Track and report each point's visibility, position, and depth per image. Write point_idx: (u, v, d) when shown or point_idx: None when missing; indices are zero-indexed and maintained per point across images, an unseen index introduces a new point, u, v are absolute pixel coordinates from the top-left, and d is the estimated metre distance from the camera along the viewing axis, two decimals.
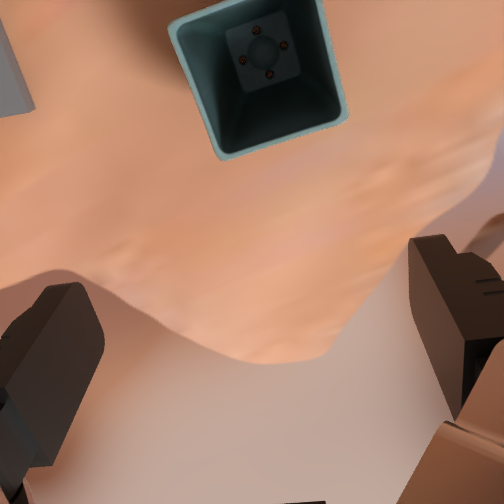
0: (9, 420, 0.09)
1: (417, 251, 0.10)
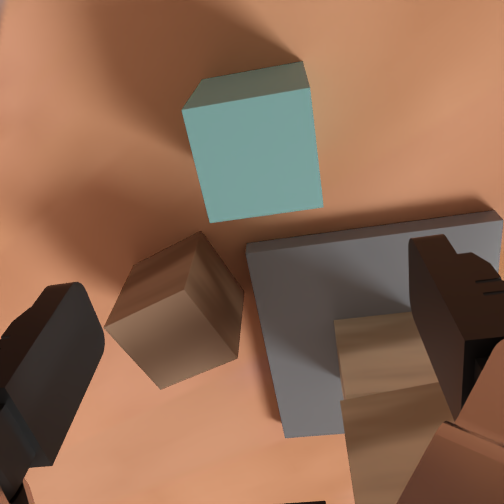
0: (9, 420, 0.09)
1: (417, 251, 0.10)
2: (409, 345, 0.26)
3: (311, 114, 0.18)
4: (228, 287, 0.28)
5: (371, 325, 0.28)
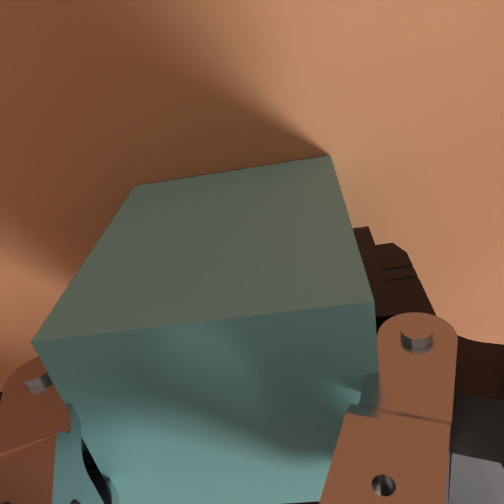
0: None
1: None
2: None
3: (374, 356, 0.07)
4: None
5: None
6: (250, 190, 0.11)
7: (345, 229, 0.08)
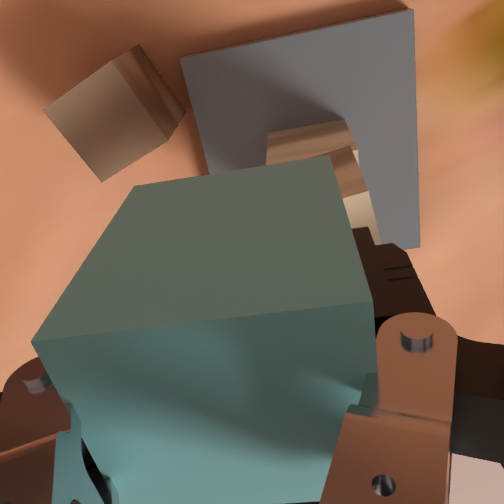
0: None
1: None
2: (330, 136, 0.28)
3: (373, 355, 0.07)
4: (166, 96, 0.30)
5: (300, 131, 0.30)
6: (249, 190, 0.11)
7: (344, 229, 0.08)
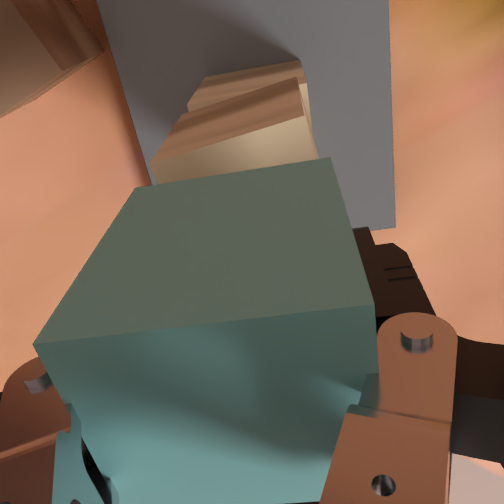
0: None
1: None
2: (278, 74, 0.22)
3: (374, 358, 0.07)
4: (73, 24, 0.24)
5: (244, 72, 0.24)
6: (250, 192, 0.11)
7: (345, 231, 0.08)
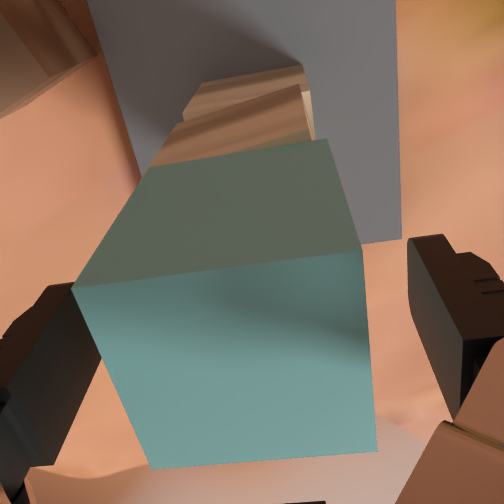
0: (11, 419, 0.09)
1: (416, 251, 0.10)
2: (279, 80, 0.21)
3: (362, 299, 0.08)
4: (63, 28, 0.22)
5: (243, 78, 0.23)
6: (255, 168, 0.12)
7: (339, 197, 0.09)
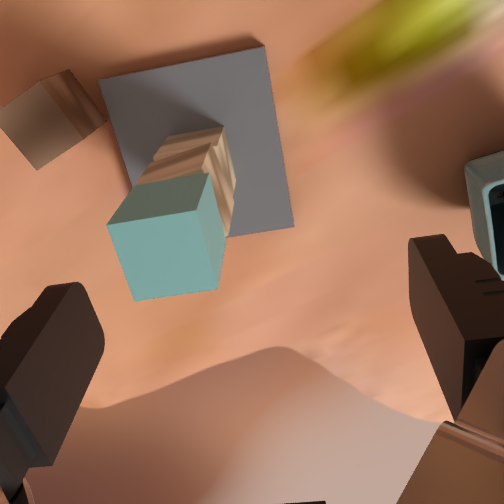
0: (9, 420, 0.09)
1: (417, 251, 0.10)
2: (207, 137, 0.38)
3: (199, 227, 0.25)
4: (88, 108, 0.40)
5: (190, 134, 0.40)
6: (176, 185, 0.29)
7: (199, 195, 0.27)
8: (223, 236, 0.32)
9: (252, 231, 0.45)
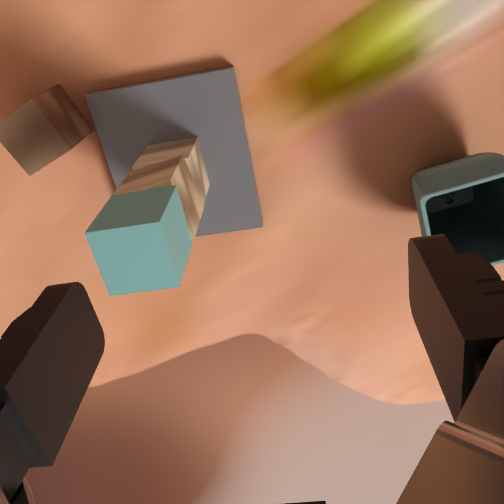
0: (9, 420, 0.09)
1: (417, 251, 0.10)
2: (181, 148, 0.43)
3: (162, 235, 0.30)
4: (76, 119, 0.45)
5: (167, 144, 0.45)
6: (147, 197, 0.34)
7: (164, 207, 0.32)
8: (189, 239, 0.37)
9: (225, 230, 0.50)
